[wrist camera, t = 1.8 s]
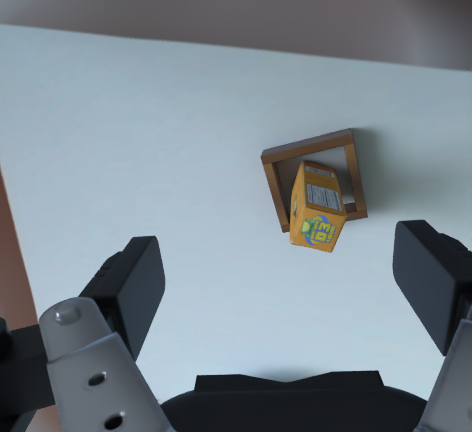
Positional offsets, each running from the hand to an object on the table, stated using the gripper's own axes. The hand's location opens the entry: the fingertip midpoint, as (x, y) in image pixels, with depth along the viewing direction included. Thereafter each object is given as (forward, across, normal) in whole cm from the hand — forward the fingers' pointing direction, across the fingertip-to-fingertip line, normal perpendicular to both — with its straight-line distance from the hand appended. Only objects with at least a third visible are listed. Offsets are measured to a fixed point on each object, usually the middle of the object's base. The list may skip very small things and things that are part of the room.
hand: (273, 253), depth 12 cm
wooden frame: (+22, -4, +4) cm, 23 cm away
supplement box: (+22, -4, +4) cm, 23 cm away
